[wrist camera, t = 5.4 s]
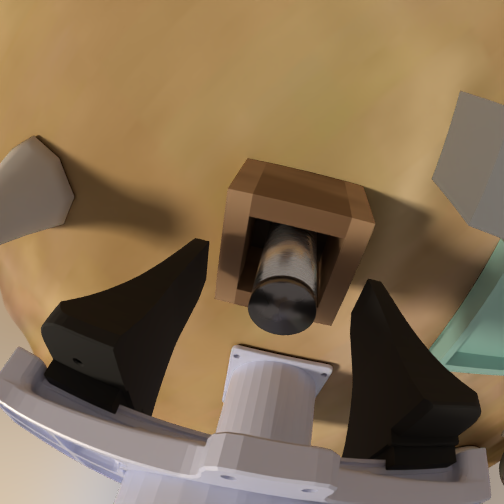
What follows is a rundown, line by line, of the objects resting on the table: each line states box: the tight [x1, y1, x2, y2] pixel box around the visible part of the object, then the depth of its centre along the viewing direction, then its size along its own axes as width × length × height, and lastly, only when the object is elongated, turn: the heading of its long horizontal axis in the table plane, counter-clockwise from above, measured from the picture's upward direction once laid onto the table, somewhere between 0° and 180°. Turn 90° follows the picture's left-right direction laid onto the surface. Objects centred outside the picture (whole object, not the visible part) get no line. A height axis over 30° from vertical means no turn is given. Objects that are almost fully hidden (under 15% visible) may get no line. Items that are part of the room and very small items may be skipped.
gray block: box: [432, 91, 504, 239], centre depth 11 cm, size 5×4×5 cm
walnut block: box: [215, 158, 375, 326], centre depth 16 cm, size 6×6×4 cm
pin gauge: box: [248, 221, 317, 335], centre depth 14 cm, size 2×2×7 cm
